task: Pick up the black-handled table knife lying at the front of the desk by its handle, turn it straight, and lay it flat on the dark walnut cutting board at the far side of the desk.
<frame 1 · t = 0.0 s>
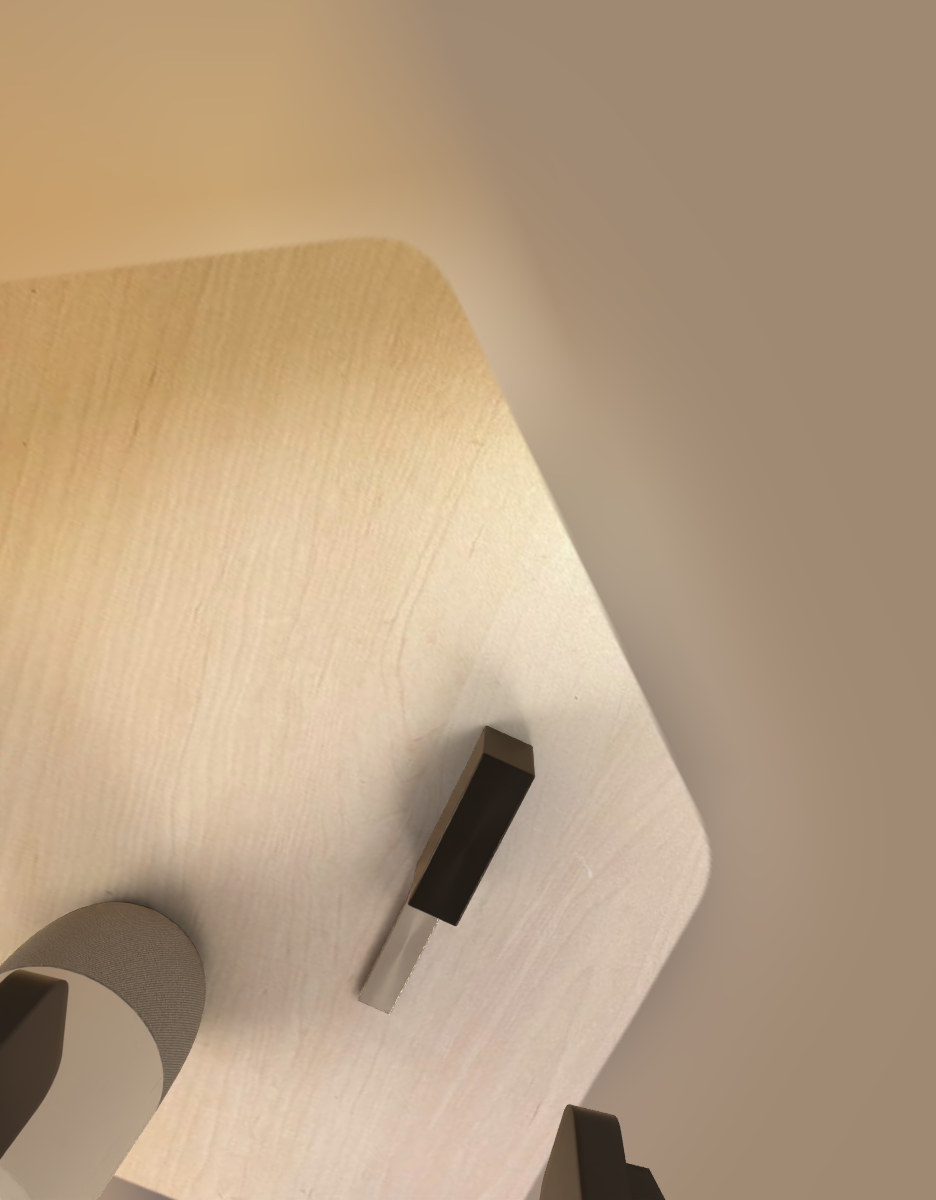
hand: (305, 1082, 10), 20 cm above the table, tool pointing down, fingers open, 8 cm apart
smart speaker: (138, 958, 34), on the table
knife: (443, 866, 31), on the table
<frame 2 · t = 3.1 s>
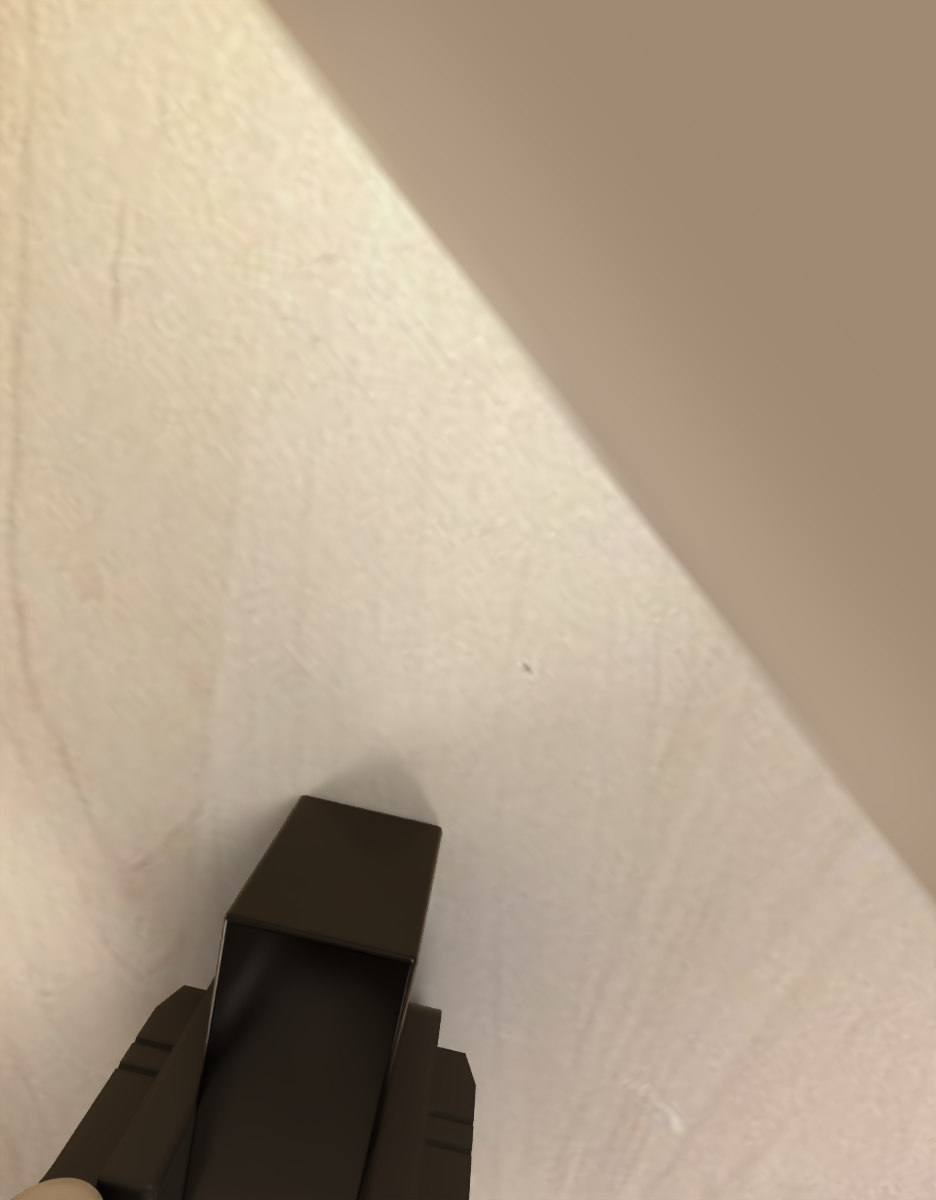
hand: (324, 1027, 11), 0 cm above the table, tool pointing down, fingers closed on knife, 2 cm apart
knife: (301, 1161, 12), on the table, touching gripper
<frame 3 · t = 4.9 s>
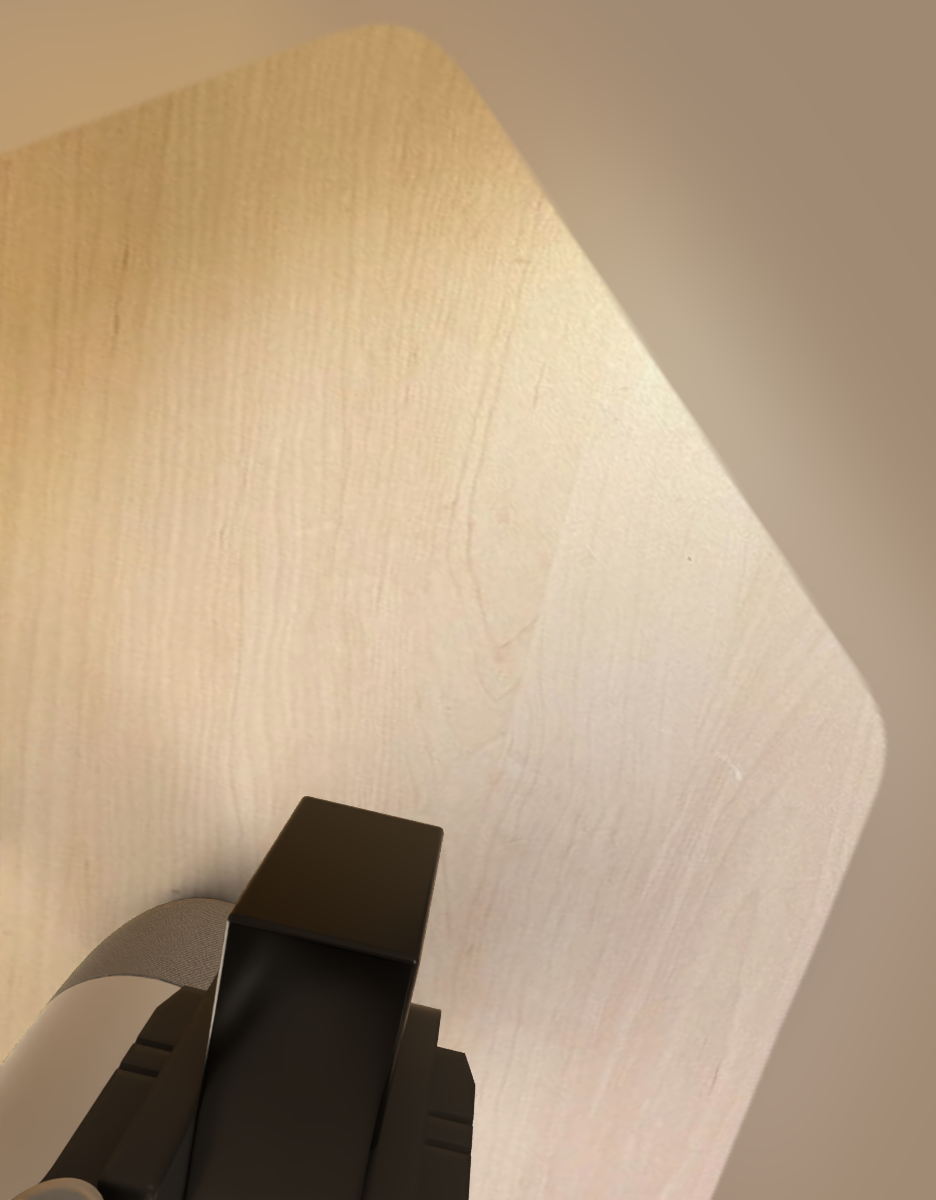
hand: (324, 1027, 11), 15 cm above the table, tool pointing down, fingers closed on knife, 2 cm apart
smart speaker: (221, 964, 29), on the table
knife: (302, 1161, 12), point 14 cm above the table, touching gripper
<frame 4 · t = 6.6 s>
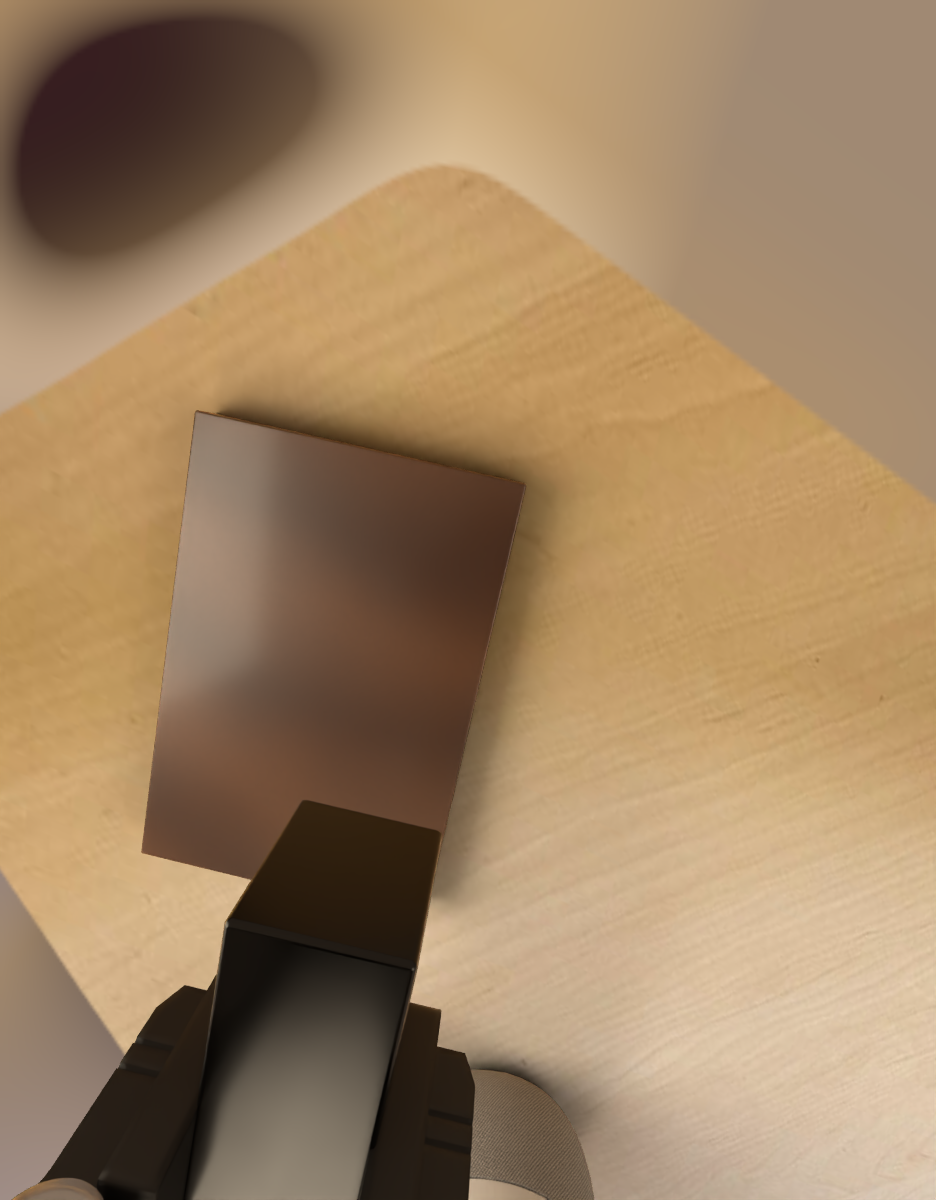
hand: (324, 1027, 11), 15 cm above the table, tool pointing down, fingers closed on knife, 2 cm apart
smart speaker: (485, 1122, 30), on the table
knife: (301, 1164, 12), point 15 cm above the table, touching gripper
board: (328, 672, 26), on the table
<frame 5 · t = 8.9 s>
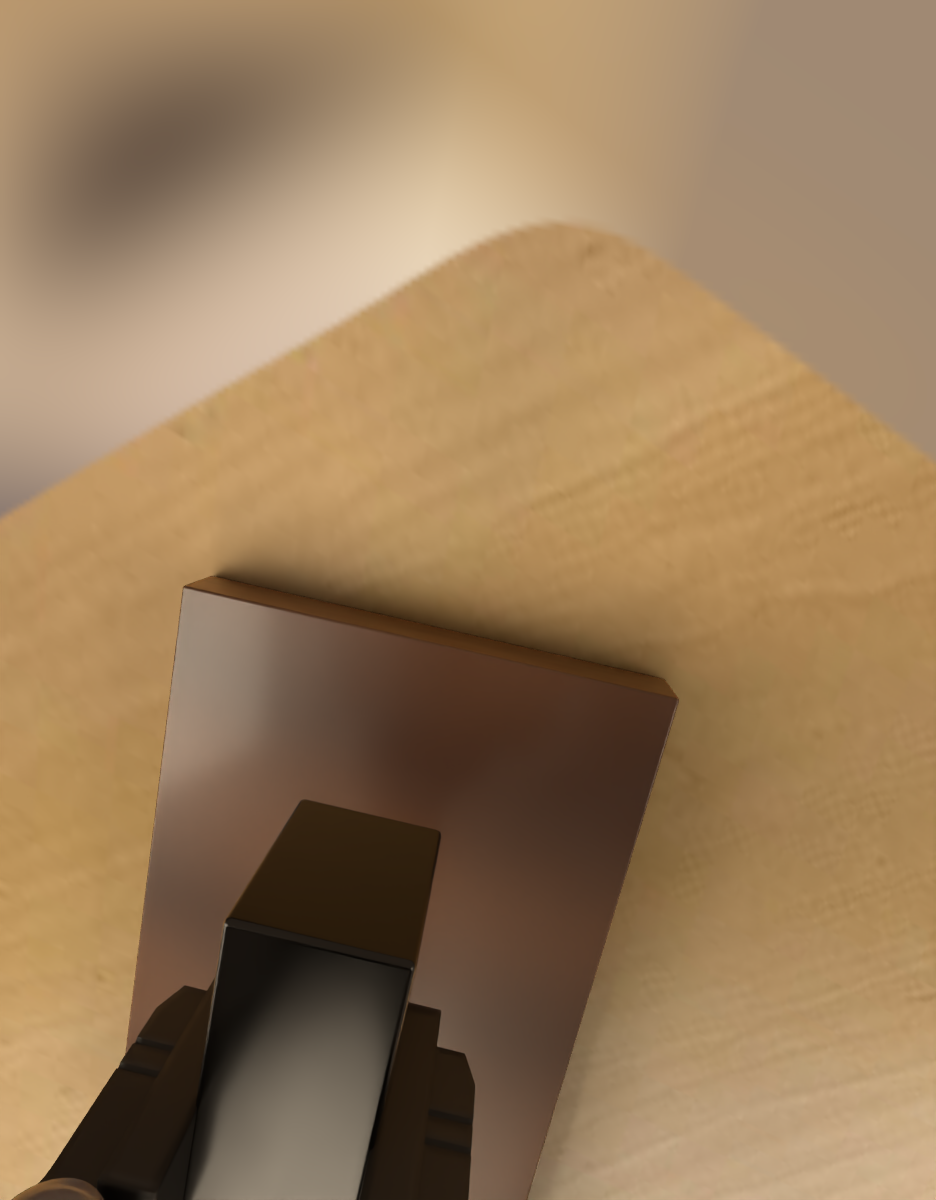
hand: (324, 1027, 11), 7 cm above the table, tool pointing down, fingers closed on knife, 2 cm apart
knife: (300, 1164, 12), point 7 cm above the table, touching gripper
board: (373, 923, 19), on the table
when the fingers open (2 cm above the table, at t = 10.4 s): knife stays where it is, resting on board.
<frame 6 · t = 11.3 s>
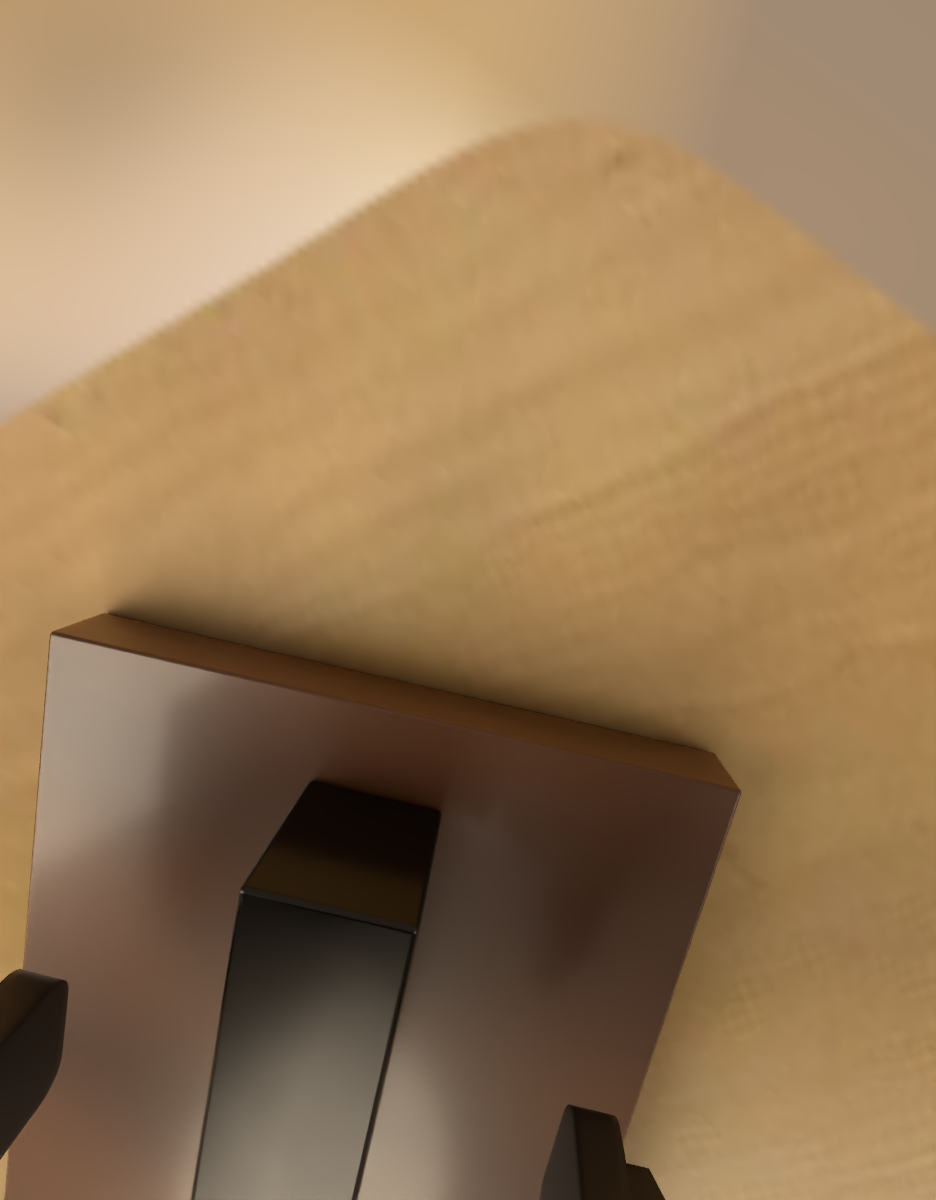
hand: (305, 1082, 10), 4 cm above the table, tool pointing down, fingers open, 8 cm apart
knife: (307, 1132, 13), point 1 cm above the table, touching board
board: (327, 1061, 14), on the table
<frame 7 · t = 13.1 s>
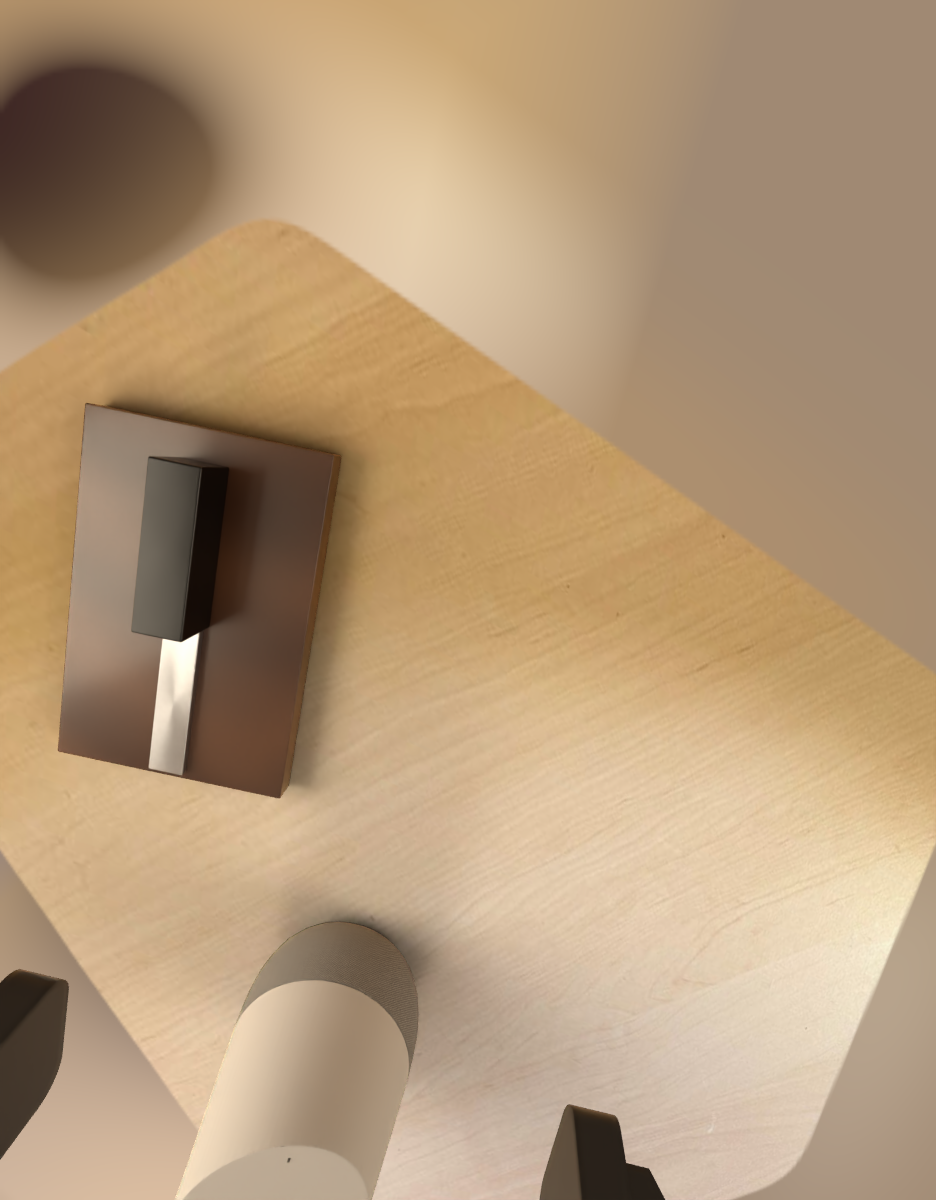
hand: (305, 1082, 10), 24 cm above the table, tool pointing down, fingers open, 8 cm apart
smart speaker: (346, 971, 38), on the table
knife: (187, 613, 32), point 1 cm above the table, touching board
board: (201, 605, 34), on the table
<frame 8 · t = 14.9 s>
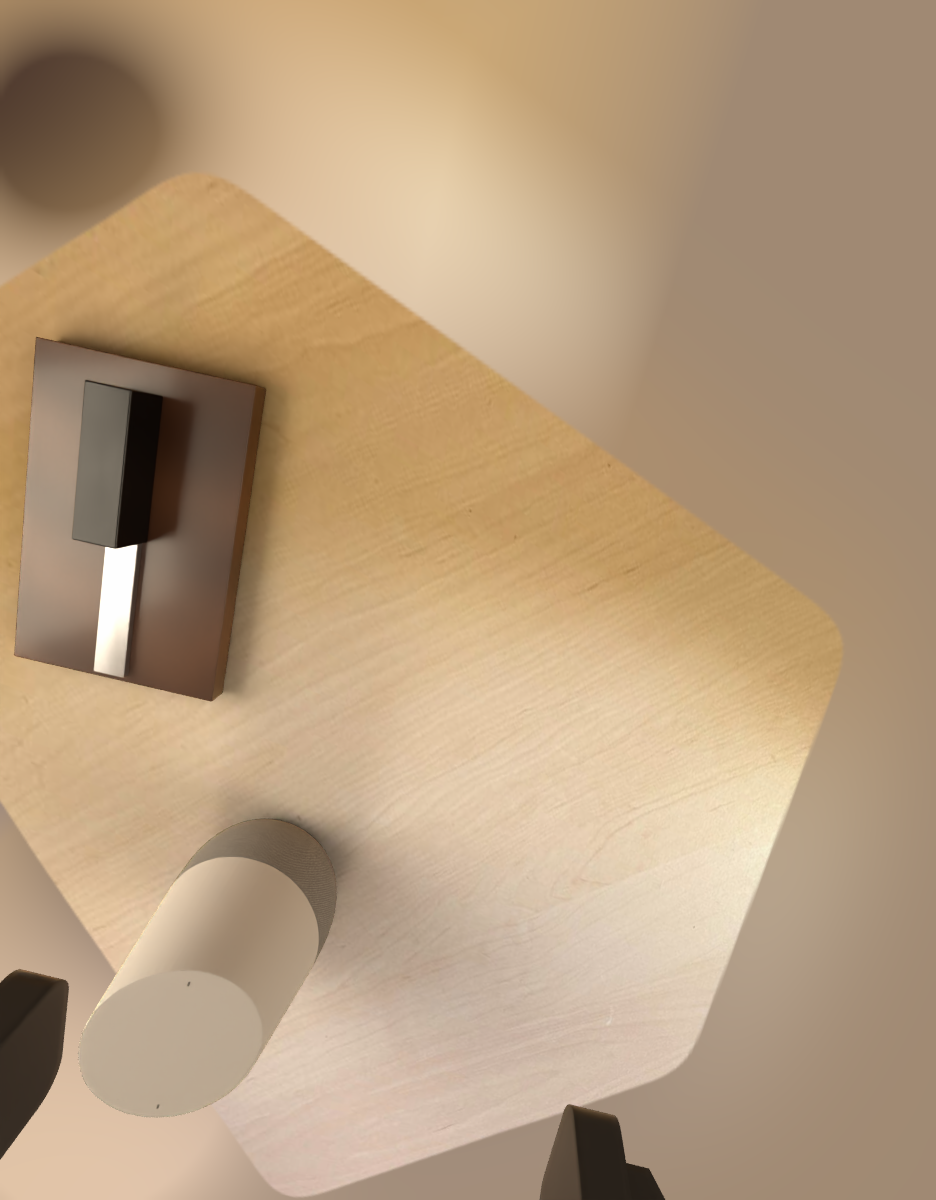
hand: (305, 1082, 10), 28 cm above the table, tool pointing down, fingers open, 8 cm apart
smart speaker: (276, 867, 42), on the table
knife: (128, 529, 36), point 1 cm above the table, touching board
board: (142, 525, 38), on the table
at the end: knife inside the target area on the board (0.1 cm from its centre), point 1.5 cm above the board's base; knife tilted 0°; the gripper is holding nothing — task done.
